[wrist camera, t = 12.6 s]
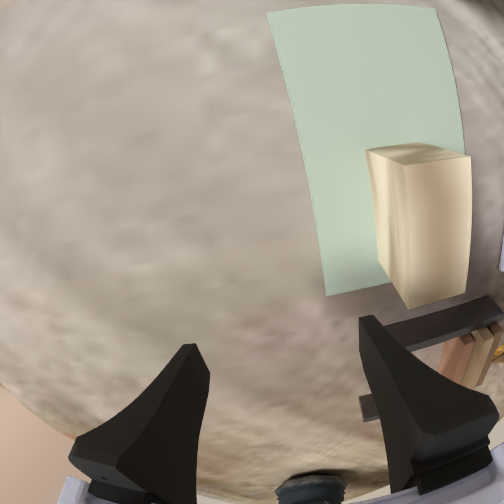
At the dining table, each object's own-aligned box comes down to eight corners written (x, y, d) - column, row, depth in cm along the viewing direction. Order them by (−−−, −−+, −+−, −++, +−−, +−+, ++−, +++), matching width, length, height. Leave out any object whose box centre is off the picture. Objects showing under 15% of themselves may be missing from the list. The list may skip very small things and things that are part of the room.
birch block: (418, 141, 16) (470, 156, 11) (425, 249, 20) (464, 292, 14) (364, 149, 17) (404, 165, 12) (378, 260, 20) (408, 310, 15)
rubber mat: (432, 10, 12) (434, 8, 12) (460, 262, 20) (462, 264, 20) (266, 14, 14) (265, 12, 13) (325, 293, 22) (326, 296, 22)
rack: (488, 295, 21) (504, 312, 19) (467, 367, 26) (477, 385, 23) (359, 331, 24) (367, 356, 21) (358, 400, 28) (363, 422, 25)
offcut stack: (483, 304, 22) (506, 331, 18) (467, 361, 25) (482, 388, 21) (449, 315, 23) (470, 347, 19) (436, 372, 26) (450, 402, 22)
